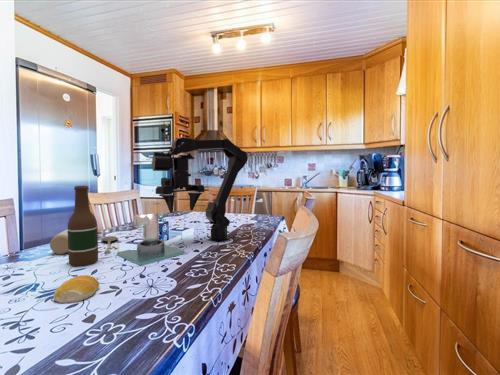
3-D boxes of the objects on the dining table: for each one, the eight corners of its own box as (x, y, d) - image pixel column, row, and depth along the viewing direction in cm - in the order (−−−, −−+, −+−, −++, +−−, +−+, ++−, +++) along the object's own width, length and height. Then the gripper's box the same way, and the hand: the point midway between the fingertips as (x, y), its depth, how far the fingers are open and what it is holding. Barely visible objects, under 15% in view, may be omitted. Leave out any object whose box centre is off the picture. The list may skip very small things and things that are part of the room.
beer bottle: (84, 268, 78) (81, 186, 77) (62, 266, 80) (59, 186, 78) (104, 259, 86) (101, 185, 84) (83, 258, 87) (80, 185, 86)
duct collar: (159, 245, 102) (159, 235, 102) (184, 253, 92) (184, 242, 92) (117, 255, 90) (116, 243, 90) (140, 265, 80) (140, 252, 80)
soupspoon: (119, 241, 113) (101, 243, 111) (118, 233, 113) (101, 235, 110) (117, 253, 93) (96, 256, 91) (116, 243, 93) (95, 246, 90)
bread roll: (102, 285, 67) (102, 269, 66) (90, 301, 58) (89, 283, 58) (65, 288, 65) (64, 272, 64) (46, 306, 56) (45, 287, 56)
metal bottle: (155, 248, 95) (154, 211, 94) (161, 251, 91) (160, 213, 90) (133, 252, 89) (132, 214, 89) (139, 256, 86) (138, 215, 85)
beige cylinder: (48, 256, 89) (47, 233, 89) (60, 249, 97) (60, 228, 97) (82, 254, 91) (82, 232, 91) (92, 248, 99) (92, 227, 99)
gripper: (188, 171, 114) (188, 207, 115) (147, 171, 100) (148, 212, 100) (205, 171, 107) (205, 209, 107) (163, 170, 92) (164, 215, 93)
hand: (181, 211), depth 102 cm, fingers open, 9 cm apart
